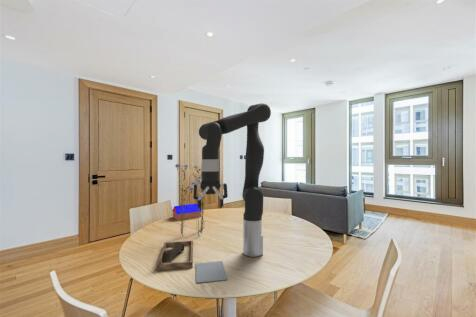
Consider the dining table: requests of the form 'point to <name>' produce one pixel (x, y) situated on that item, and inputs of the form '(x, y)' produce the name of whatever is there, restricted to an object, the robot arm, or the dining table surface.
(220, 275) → the mat
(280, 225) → the dining table surface
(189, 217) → the house
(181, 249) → the hand tool
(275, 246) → the dining table surface
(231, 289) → the dining table surface
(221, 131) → the robot arm
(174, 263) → the wooden frame
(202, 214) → the wildflower
